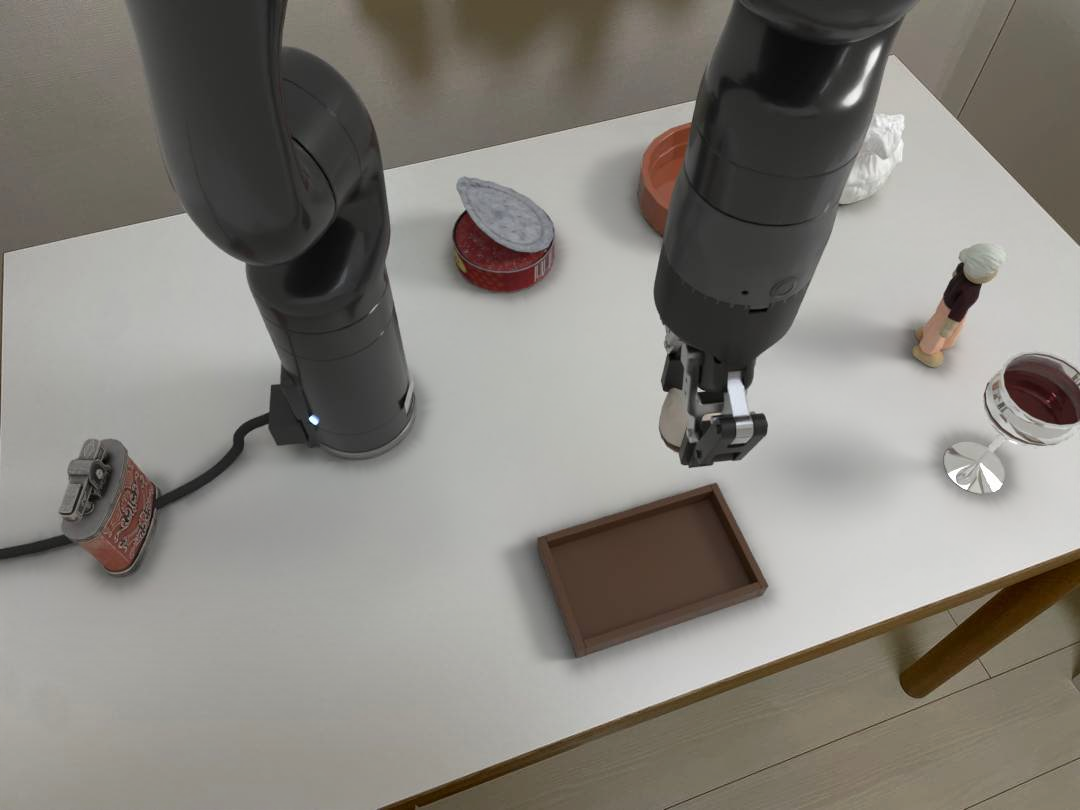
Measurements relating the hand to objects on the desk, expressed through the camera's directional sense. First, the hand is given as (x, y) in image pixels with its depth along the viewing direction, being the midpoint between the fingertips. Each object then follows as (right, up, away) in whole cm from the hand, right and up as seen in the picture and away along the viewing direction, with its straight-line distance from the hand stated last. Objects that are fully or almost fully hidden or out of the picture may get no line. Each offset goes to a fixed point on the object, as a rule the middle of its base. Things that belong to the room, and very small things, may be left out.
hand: (686, 422), depth 55 cm
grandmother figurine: (+26, +7, +23) cm, 36 cm away
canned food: (-13, +16, +28) cm, 35 cm away
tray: (-1, -12, +11) cm, 16 cm away
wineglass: (+27, -4, +16) cm, 32 cm away
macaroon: (0, 0, +1) cm, 1 cm away
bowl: (+8, +22, +32) cm, 40 cm away
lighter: (-42, -9, +12) cm, 44 cm away
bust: (+22, +23, +33) cm, 46 cm away
